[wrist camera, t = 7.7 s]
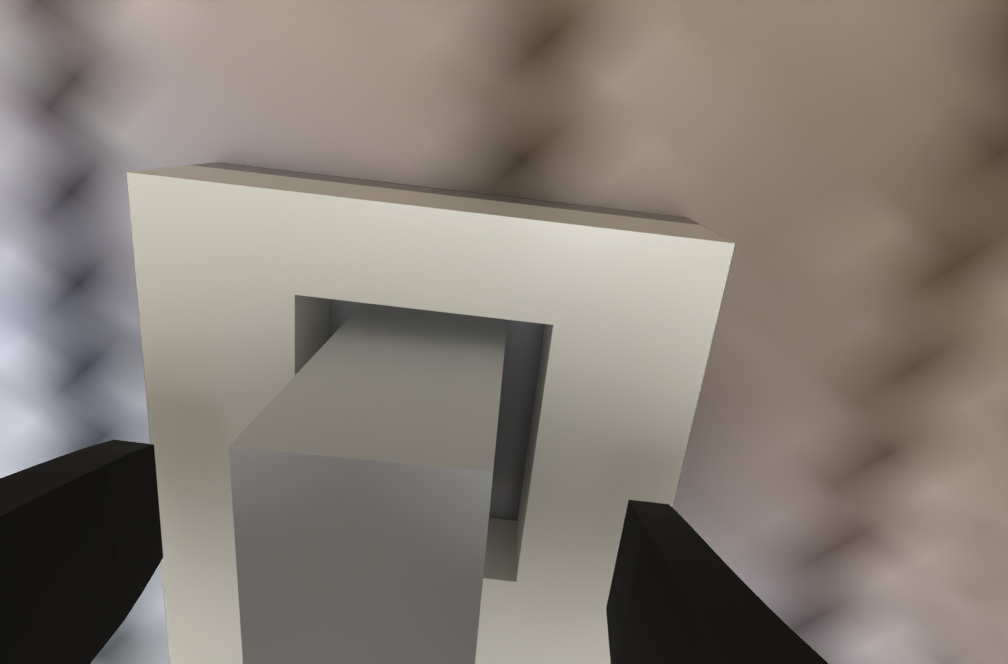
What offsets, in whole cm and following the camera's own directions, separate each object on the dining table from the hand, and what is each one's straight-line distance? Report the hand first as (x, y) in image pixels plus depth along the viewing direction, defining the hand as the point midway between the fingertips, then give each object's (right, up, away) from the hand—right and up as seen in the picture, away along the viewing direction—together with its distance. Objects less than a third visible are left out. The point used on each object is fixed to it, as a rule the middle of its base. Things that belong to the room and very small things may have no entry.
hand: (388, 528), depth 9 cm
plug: (0, +2, +4) cm, 4 cm away
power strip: (0, -3, +6) cm, 7 cm away
